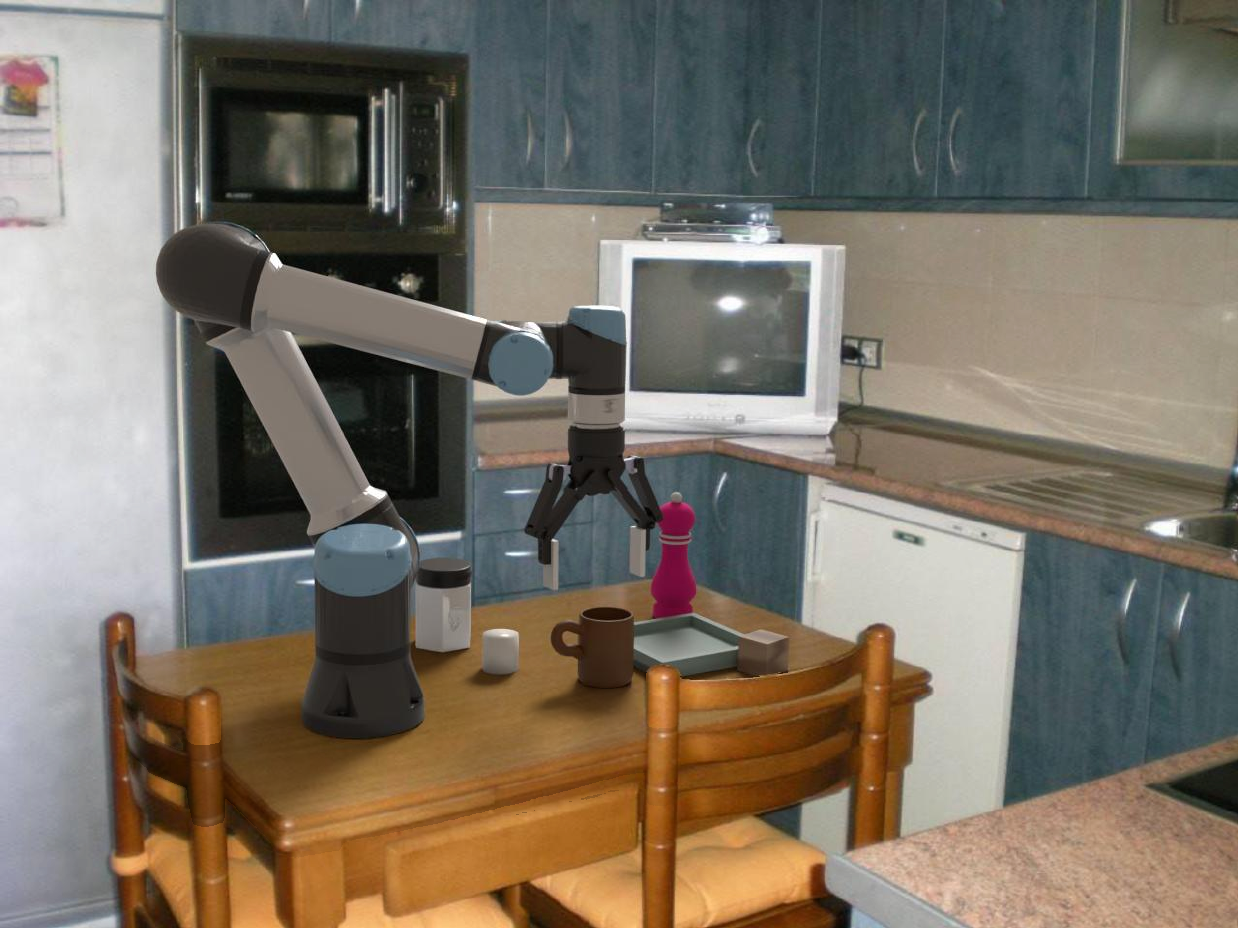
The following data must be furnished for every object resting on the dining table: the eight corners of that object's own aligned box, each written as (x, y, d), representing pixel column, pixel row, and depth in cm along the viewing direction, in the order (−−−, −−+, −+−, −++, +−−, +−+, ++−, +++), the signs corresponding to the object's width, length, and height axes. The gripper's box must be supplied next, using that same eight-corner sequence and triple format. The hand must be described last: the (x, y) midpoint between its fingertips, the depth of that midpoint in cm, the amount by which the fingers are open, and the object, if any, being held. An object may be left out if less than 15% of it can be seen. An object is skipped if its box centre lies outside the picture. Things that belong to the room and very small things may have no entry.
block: (765, 678, 199) (767, 644, 198) (737, 670, 202) (738, 636, 201) (787, 671, 202) (789, 636, 201) (759, 662, 206) (760, 629, 205)
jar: (428, 655, 205) (429, 574, 203) (403, 641, 211) (403, 561, 209) (484, 646, 210) (484, 566, 208) (457, 632, 216) (457, 554, 214)
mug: (562, 696, 189) (563, 627, 188) (538, 679, 196) (539, 612, 194) (642, 685, 195) (644, 617, 193) (617, 668, 201) (618, 603, 200)
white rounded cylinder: (492, 676, 197) (492, 641, 196) (475, 666, 201) (476, 631, 200) (524, 671, 199) (525, 636, 198) (507, 661, 203) (508, 626, 203)
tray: (662, 680, 197) (662, 662, 196) (593, 644, 212) (593, 628, 211) (765, 660, 206) (766, 643, 206) (693, 628, 221) (693, 612, 221)
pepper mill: (657, 607, 232) (661, 486, 228) (700, 612, 230) (705, 490, 226) (644, 619, 225) (647, 494, 222) (688, 624, 223) (692, 498, 219)
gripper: (526, 435, 179) (526, 600, 183) (690, 421, 192) (687, 575, 196) (498, 427, 185) (498, 586, 189) (659, 414, 199) (656, 563, 202)
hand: (594, 581), depth 193 cm, fingers open, 13 cm apart
